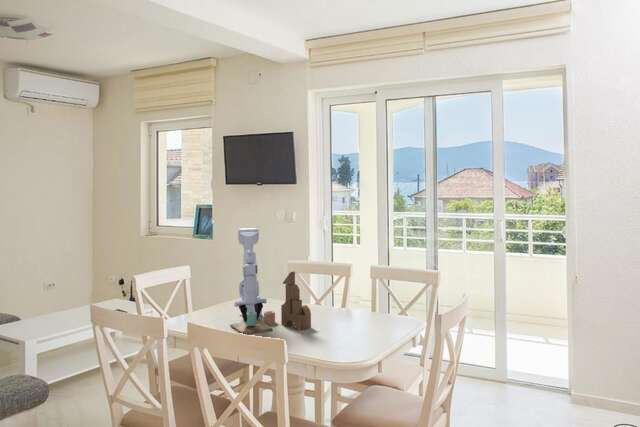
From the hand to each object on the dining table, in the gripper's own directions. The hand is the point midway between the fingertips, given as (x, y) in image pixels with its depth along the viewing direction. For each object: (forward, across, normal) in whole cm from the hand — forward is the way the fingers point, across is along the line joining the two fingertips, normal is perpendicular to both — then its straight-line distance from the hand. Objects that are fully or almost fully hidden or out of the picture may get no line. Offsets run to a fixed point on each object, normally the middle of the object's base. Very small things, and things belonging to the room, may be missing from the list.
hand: (250, 320), depth 221 cm
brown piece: (+3, 0, 0) cm, 3 cm away
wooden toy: (+4, +19, -6) cm, 20 cm away
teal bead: (+2, 0, 0) cm, 2 cm away
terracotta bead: (+3, +11, +5) cm, 13 cm away
